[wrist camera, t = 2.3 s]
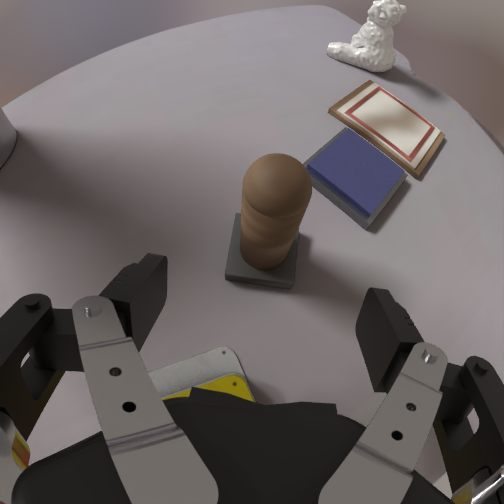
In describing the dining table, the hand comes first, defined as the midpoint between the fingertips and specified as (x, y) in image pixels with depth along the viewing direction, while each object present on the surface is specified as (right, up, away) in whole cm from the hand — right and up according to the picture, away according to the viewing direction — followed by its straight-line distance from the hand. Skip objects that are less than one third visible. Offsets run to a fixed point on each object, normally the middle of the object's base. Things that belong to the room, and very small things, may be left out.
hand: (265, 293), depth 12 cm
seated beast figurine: (+16, +29, +25) cm, 41 cm away
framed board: (+16, +16, +20) cm, 30 cm away
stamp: (0, +1, +13) cm, 13 cm away
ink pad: (+9, +9, +16) cm, 21 cm away
